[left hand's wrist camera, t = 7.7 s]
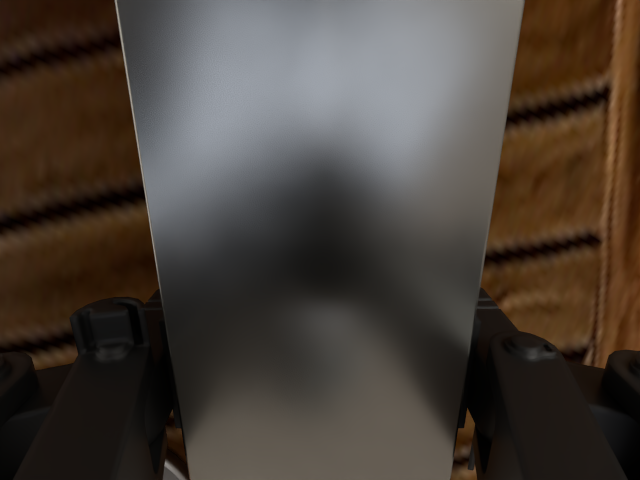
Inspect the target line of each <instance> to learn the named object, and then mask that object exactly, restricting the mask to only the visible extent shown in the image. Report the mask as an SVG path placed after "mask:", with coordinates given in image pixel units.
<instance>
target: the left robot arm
mask: <svg viewBox="0 0 640 480" xmlns="http://www.w3.org/2000/svg"><path fill="white" fill-rule="evenodd" d="M69 318H70V322H71V326H72V330H73V334H74V338H75V342H76V346H77V350H78V356H77V358H76V360H75V362H74V363H71V364H67V365H62V366H57V367H52V368H47V369H42V370H36V371H35V368H34V365H33V361H32V358H31V357H30V356H29V355H27V354H26V353H21V352H7V353H0V480H189V473H188V467H187V466H186V465H185V463H184V462H183V461H182V460H181V459H180V458H179V457H177V456H176V455H175V454H174V453H173V452H171V451H170V450H169V449H167V444H168V442H167V434H166V429H165V424H166V422H167V419H168V417H169V415H170V413H171V411H172V409H173V414H174V420H175V426H176V428H181V422H180V416H179V410H178V403H177V397H176V390H175V384H174V378H173V371H172V365H171V358H170V352H169V346H168V339H167V333H166V326H165V320H164V314H163V307H162V301H161V294H160V289H158V290H157V291H156V292H155V293H154V294H153V295H152V297H151V298H150V299H149V300H148V302H146V304H145V305H144V303H143V302H141V301H140V300H139V299H136V298H131V297H114V298H109V299H103V300H99V301H97V302H94V303H91V304H88V305H86V306H84V307H82V308H80V309H79V310H77V311H76V312H75V313H74V314H73V315H72V316H71V317H69ZM467 407H468V410H469V412H470V414H471V416H472V418H473V420H474V422H475V429H474V434H473V440H472V446H471V452H470V457H469V464H468V470H473V469H474V463H475V466H476V473H477V480H640V351H633V350H620V351H614V352H613V353H612V354H610V355H609V357H608V360H607V363H606V367H605V369H603V368H598V367H592V366H587V365H582V364H576V363H572V362H568V361H565V359H564V357H563V356H562V354H561V353H560V351H559V350H558V349H557V348H556V347H555V346H554V345H553V344H551V343H550V342H548V341H547V340H545V339H543V338H541V337H538V336H536V335H533V334H530V333H526V332H521V331H518V329H517V328H516V327H515V326H514V325H513V324H512V322H511V321H510V320H509V319H508V318H507V316H506V315H505V314H504V313H503V312H502V311H501V309H498V306H497V305H496V303H495V302H494V301H492V299H491V298H490V296H489V295H488V294H487V293H486V292H485V290H484V289H482V288H481V287H480V291H479V297H478V304H477V310H476V317H475V323H474V329H473V336H472V342H471V349H470V355H469V361H468V368H467V374H466V381H465V387H464V394H463V400H462V406H461V413H460V419H459V426H458V428H464V424H465V418H466V412H467Z"/></svg>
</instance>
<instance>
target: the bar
mask: <svg viewBox="0 0 640 480" xmlns="http://www.w3.org/2000/svg"><path fill="white" fill-rule="evenodd" d="M524 3H525V0H115V7H116V13H117V19H118V26H119V32H120V39H121V45H122V51H123V58H124V64H125V71H126V77H127V83H128V90H129V96H130V103H131V109H132V115H133V122H134V128H135V134H136V141H137V147H138V154H139V160H140V166H141V173H142V179H143V186H144V192H145V198H146V205H147V211H148V218H149V224H150V230H151V237H152V243H153V250H154V256H155V262H156V269H157V275H158V282H159V288H160V294H161V301H162V307H163V314H164V320H165V326H166V333H167V339H168V346H169V352H170V358H171V365H172V371H173V378H174V384H175V390H176V397H177V403H178V410H179V416H180V422H181V429H182V435H183V442H184V448H185V454H186V461H187V467H188V473H189V480H450V477H451V470H452V464H453V458H454V451H455V445H456V438H457V432H458V426H459V419H460V413H461V406H462V400H463V394H464V387H465V381H466V374H467V368H468V361H469V355H470V349H471V342H472V336H473V329H474V323H475V317H476V310H477V304H478V297H479V291H480V285H481V278H482V272H483V265H484V259H485V253H486V246H487V240H488V233H489V227H490V220H491V214H492V208H493V201H494V195H495V188H496V182H497V176H498V169H499V163H500V156H501V150H502V144H503V137H504V131H505V124H506V118H507V112H508V105H509V99H510V92H511V86H512V79H513V73H514V67H515V60H516V54H517V47H518V41H519V35H520V28H521V22H522V15H523V9H524Z"/></svg>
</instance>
